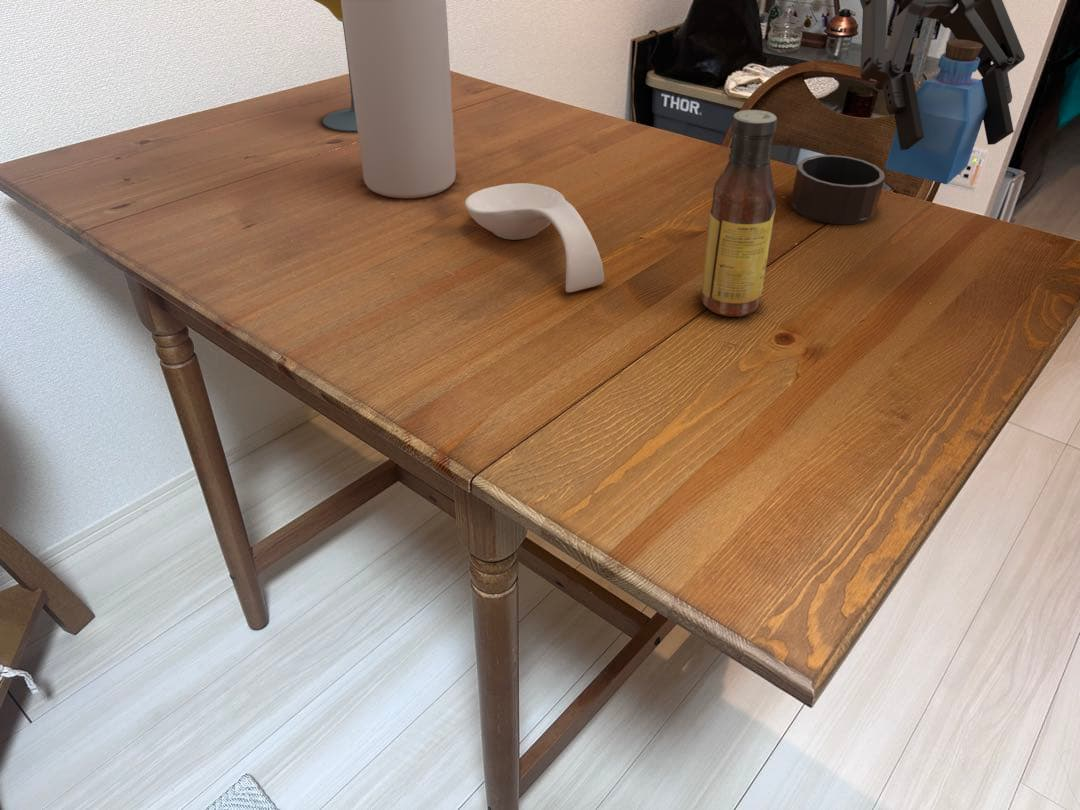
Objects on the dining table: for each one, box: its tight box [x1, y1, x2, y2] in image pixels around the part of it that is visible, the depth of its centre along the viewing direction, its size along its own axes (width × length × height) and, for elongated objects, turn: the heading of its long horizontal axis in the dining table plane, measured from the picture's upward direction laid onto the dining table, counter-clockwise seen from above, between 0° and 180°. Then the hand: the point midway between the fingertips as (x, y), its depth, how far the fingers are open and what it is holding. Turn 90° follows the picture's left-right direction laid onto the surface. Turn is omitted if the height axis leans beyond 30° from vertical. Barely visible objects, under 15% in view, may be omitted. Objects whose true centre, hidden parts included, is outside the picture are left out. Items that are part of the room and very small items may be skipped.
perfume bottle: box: [885, 39, 988, 185], centre depth 80 cm, size 6×6×12 cm
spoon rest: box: [464, 182, 605, 293], centre depth 94 cm, size 24×12×7 cm, turn 29°
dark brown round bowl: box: [789, 154, 886, 226], centre depth 105 cm, size 11×11×5 cm
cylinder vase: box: [341, 0, 457, 199], centre depth 104 cm, size 12×12×25 cm
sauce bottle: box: [700, 109, 778, 318], centre depth 81 cm, size 6×6×20 cm
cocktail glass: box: [313, 0, 358, 133], centre depth 124 cm, size 18×18×25 cm
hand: (956, 140), depth 79 cm, fingers closed on perfume bottle, 9 cm apart
